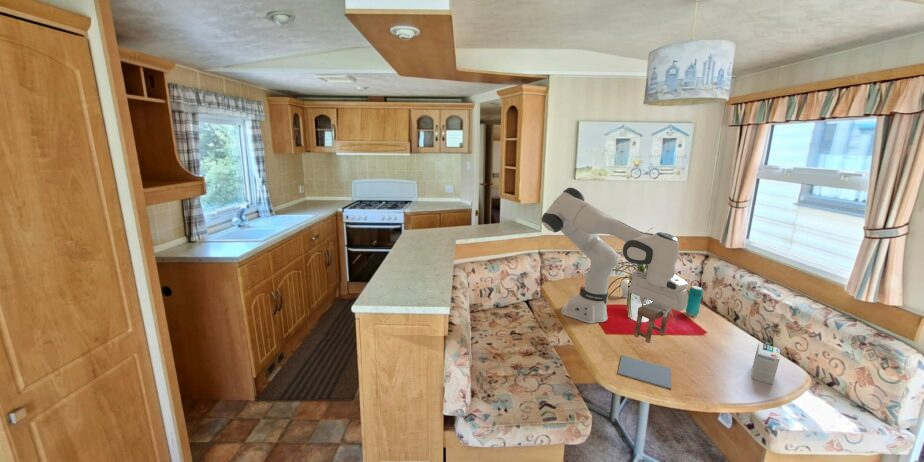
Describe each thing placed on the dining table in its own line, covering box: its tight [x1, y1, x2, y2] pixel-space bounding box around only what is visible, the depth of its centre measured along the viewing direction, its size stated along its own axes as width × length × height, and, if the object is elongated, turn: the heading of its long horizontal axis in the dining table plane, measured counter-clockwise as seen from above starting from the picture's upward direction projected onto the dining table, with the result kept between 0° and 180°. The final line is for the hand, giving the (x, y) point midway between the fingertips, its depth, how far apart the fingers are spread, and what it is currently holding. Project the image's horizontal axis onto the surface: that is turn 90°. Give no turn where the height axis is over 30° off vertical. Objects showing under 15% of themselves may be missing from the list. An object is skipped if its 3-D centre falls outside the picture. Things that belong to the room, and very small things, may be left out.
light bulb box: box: [751, 342, 781, 386], centre depth 144 cm, size 11×7×11 cm, turn 140°
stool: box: [633, 302, 670, 344], centre depth 140 cm, size 12×6×11 cm
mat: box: [617, 355, 672, 390], centre depth 145 cm, size 18×14×1 cm
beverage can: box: [685, 285, 704, 317], centre depth 194 cm, size 6×6×15 cm
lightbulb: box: [619, 279, 630, 299], centre depth 213 cm, size 6×6×11 cm
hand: (653, 312), depth 139 cm, fingers closed on stool, 6 cm apart
